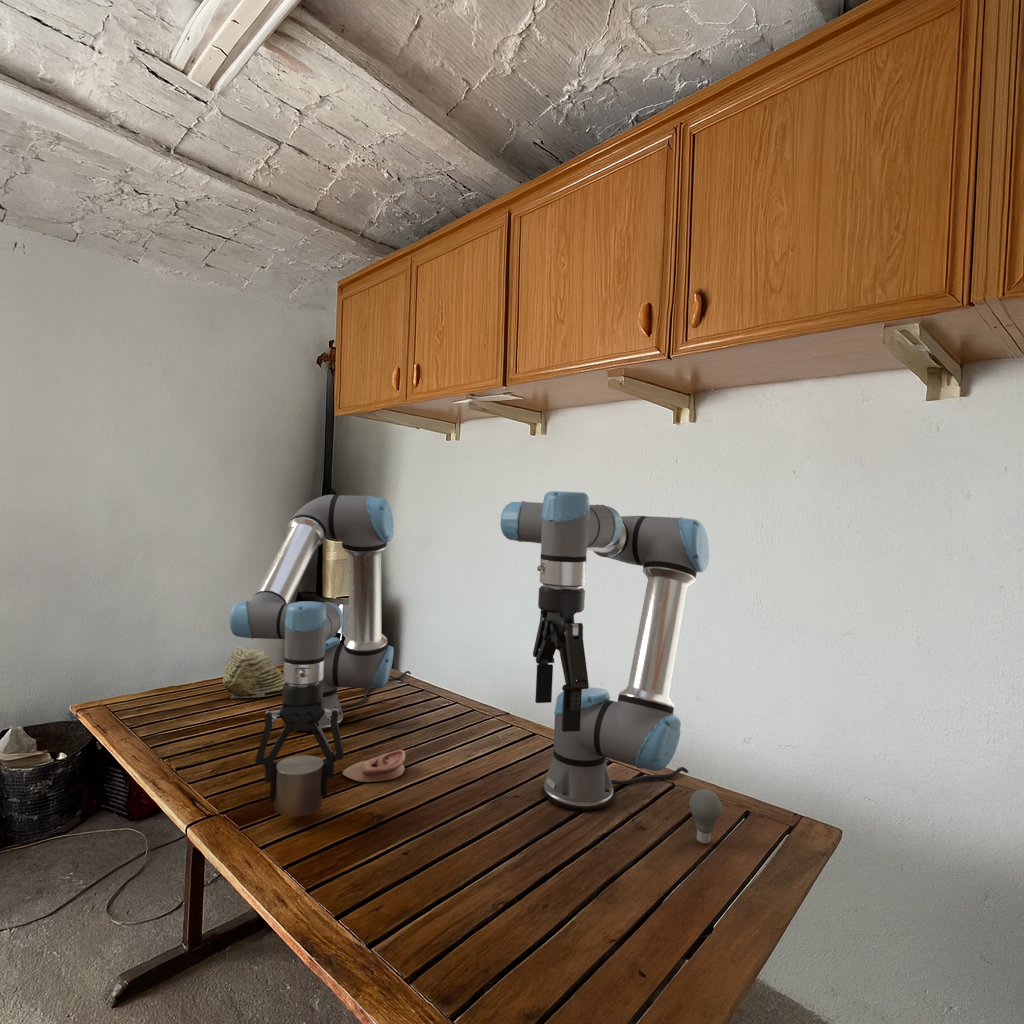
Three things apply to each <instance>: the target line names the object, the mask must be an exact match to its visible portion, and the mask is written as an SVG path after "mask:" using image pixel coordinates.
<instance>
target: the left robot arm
mask: <svg viewBox="0 0 1024 1024" xmlns="http://www.w3.org/2000/svg"><path fill="white" fill-rule="evenodd" d="M285 530H286V536H285V538H284V540H283V541H282V543H281V546H280V547H279V549H278V551H277V553H276V555H274V558H273V560H272V562H271V563H270V565H269V567H268V569H267V570H266V573H265V575H264V576H263V578H262V580H261V582H260V583H259V586H258V588H257V589H256V592H255V593H254V594H253V597H252V598H251V600H250V601H249V600H244V601H243V600H242V601H238V602H237V603H235V604H234V605H233V606H232V608H231V611H230V614H229V623H228V624H229V628H230V632H231V634H232V635H234V636H235V637H238V638H244V639H245V638H246V639H251V640H254V639H263V640H284V655H283V656H284V657H283V674H282V675H283V680H284V681H285V682H286V683H285V684H284V685H283V693H282V701H281V702H282V704H281V707H280V708H279V709H275V710H273V709H270V708H269V709H267V710H266V711H265V714H264V727H263V728H264V729H263V732H262V736H261V739H260V743H259V746H258V750H257V753H256V757H255V761H254V763H255V764H256V765H263V766H264V782H265V784H267V783H268V784H269V783H270V787H269V788H270V789H269V790H270V791H269V792H270V793H269V802H275V779H276V765H277V764H278V761H275V759H276V758H277V756H278V755H279V752H280V750H281V749H282V747H283V745H284V743H285V742H286V740H287V738H288V736H289V735H290V734H291V732H301V733H311V734H312V735H313V736H314V737H315V739H316V742H317V743H318V745H319V748H320V749H321V751H322V754H323V755H324V759H323V761H324V770H323V796H322V798H324V799H325V798H327V794H328V780H330V779H331V780H332V779H333V778H334V773H335V762H337V761H341V760H343V759H344V752H345V751H344V747H343V746H344V745H343V742H342V736H341V732H340V727H339V726H340V725H342V723H343V722H344V714H343V709H345V708H349V707H353V706H357V705H360V704H362V703H364V702H365V701H366V700H367V697H368V694H369V692H370V690H371V689H382V688H384V687H385V686H386V685H387V684H388V682H392V681H396V680H400V679H402V678H403V677H405V676H406V675H407V674H408V675H412V672H411V671H409V670H406V671H404V672H403V673H402V674H401V675H399V676H396V677H392V678H390V674H391V671H392V665H393V660H394V653H395V652H394V646H391V645H389V644H388V638H387V637H386V636H385V635H384V634H383V633H382V553H383V552H384V550H385V549H387V546H388V543H390V542H391V541H392V539H393V537H394V517H393V511H392V507H391V505H390V502H389V501H388V500H387V499H386V498H384V497H379V496H372V495H347V494H346V495H344V494H341V495H340V494H325V495H322V496H319V497H317V498H315V499H312V500H311V501H309V502H307V503H306V504H304V505H303V506H302V507H301V508H300V509H298V510H297V511H296V512H295V513H294V515H293V516H292V517H291V518H290V520H289V522H288V524H287V526H286V529H285ZM325 540H341V548H342V550H344V551H345V552H346V553H347V563H348V564H347V565H348V566H347V567H348V613H349V614H348V616H349V617H348V618H349V619H348V620H349V624H348V625H349V635H348V636H347V637H346V638H345V639H344V641H343V643H341V641H340V638H338V637H337V636H336V635H337V634H338V633H339V631H340V630H341V629H342V627H343V625H344V613H343V611H342V609H341V608H340V606H338V605H337V604H335V603H332V602H329V601H325V602H320V601H312V600H309V601H308V600H307V601H306V600H305V601H296V602H295V601H294V602H291V600H292V599H293V596H294V594H295V592H296V590H297V589H298V586H299V584H300V581H301V580H302V577H303V575H304V573H305V571H306V570H307V567H308V565H309V563H310V561H311V559H312V557H313V554H314V553H315V551H316V548H318V547H321V545H322V544H323V543H324V541H325ZM338 688H350V689H352V688H353V689H366V691H365V693H364V695H363V698H362V699H361V700H359V701H355V702H352V703H347V704H341V702H340V699H339V695H338ZM278 717H280V719H281V720H282V721H283V723H284V726H283V729H282V731H281V732H280V734H279V736H278V738H277V739H276V741H275V743H274V745H273V746H272V749H271V750H270V752H269V753H268V755H265V754H266V750H267V746H268V742H269V740H270V736H271V732H272V728H273V726H274V725H273V724H275V723H276V722H277V719H278ZM329 730H331V733H332V738H333V739H332V740H333V745H334V749H335V751H333V749H332V747H331V746H330V743H329V741H328V739H327V737H326V735H325V734H324V732H325V731H329Z"/></svg>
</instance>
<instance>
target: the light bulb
mask: <svg viewBox="0 0 1024 1024" xmlns="http://www.w3.org/2000/svg"><path fill="white" fill-rule="evenodd" d="M688 802H689V803H688V806H689V811H690V813H691V815H692V817H693V820H694V822H695V827H696V840H697V841H698V842H699V843H701V844H709V843H711V840H712V831H713V830H714V826H715V824H716V822H717V821H718V820H719V819H720V816H721V815H722V810H723V805H722V802H721V800H720V798H719V796H718V795H717V794H716V793H715V792H714V791H713V790H710V789H706V788H701V789H697V790H696V791H694V792H693V793H692V794H691V796H690V797H689V801H688Z"/></svg>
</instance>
